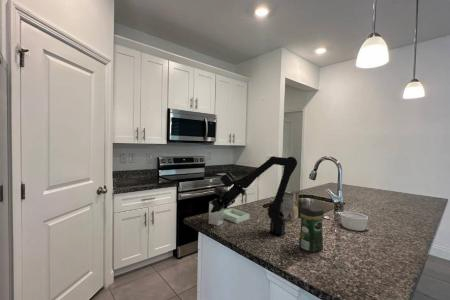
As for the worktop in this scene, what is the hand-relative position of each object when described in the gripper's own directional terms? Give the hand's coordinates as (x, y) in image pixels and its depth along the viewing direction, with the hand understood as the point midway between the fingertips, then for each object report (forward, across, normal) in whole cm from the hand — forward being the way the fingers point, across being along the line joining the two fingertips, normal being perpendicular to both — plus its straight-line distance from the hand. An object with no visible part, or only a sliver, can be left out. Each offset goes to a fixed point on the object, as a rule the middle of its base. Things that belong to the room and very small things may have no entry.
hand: (214, 210), depth 119 cm
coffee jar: (-31, +4, +41) cm, 52 cm away
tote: (0, -13, +9) cm, 16 cm away
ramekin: (-44, -35, +54) cm, 78 cm away
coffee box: (-21, -31, +30) cm, 48 cm away
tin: (+4, 0, +6) cm, 7 cm away
